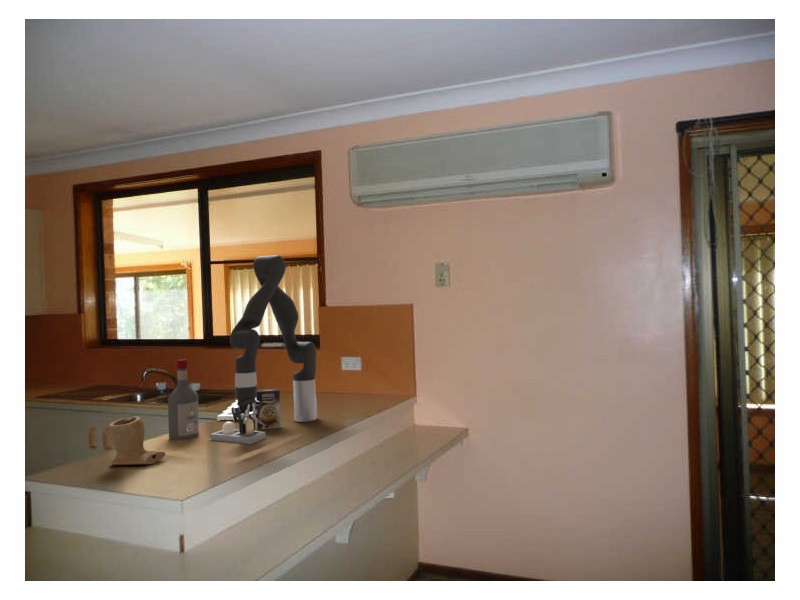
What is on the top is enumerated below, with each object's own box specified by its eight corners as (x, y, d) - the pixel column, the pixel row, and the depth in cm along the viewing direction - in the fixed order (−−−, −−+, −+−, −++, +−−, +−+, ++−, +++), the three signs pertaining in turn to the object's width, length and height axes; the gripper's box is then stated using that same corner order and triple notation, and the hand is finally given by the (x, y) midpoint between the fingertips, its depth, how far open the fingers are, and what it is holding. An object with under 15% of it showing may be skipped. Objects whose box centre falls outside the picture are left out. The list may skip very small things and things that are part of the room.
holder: (236, 422, 244) (236, 416, 244) (197, 422, 247) (197, 415, 247) (276, 402, 288) (276, 397, 288) (243, 402, 291) (243, 397, 291)
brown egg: (246, 432, 208) (246, 416, 208) (256, 433, 206) (256, 417, 206) (238, 435, 204) (238, 419, 204) (248, 436, 202) (248, 419, 202)
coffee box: (257, 433, 220) (255, 391, 220) (256, 429, 226) (255, 389, 226) (281, 431, 222) (279, 390, 222) (280, 427, 229) (278, 387, 228)
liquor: (202, 438, 214) (200, 359, 213) (182, 444, 206) (179, 361, 206) (186, 436, 218) (183, 358, 218) (165, 442, 210) (163, 360, 210)
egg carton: (227, 437, 215) (227, 428, 215) (268, 441, 207) (267, 431, 207) (208, 443, 206) (207, 434, 206) (250, 448, 198) (250, 438, 198)
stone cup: (100, 469, 178) (98, 421, 178) (124, 458, 189) (123, 413, 189) (144, 470, 175) (143, 421, 175) (166, 459, 187) (165, 413, 187)
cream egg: (228, 435, 211) (227, 420, 211) (237, 436, 209) (237, 420, 209) (219, 438, 207) (219, 422, 207) (229, 439, 205) (229, 423, 205)
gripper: (250, 381, 213) (252, 427, 213) (224, 387, 200) (225, 436, 200) (267, 382, 210) (268, 428, 210) (241, 388, 197) (242, 437, 197)
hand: (247, 432), depth 205 cm, fingers closed on brown egg, 4 cm apart
